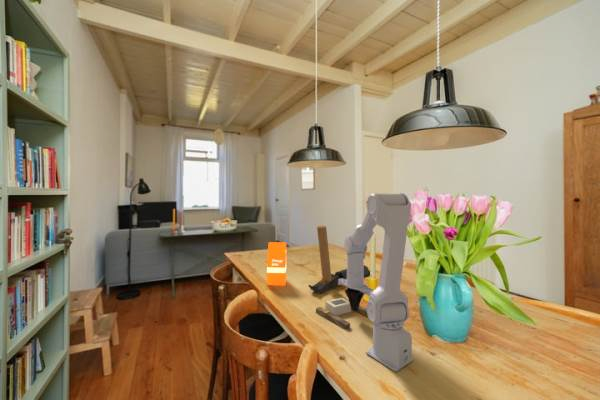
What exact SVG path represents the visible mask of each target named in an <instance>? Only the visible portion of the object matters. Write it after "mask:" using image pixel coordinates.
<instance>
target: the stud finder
mask: <svg viewBox="0 0 600 400" xmlns="http://www.w3.org/2000/svg"><path fill="white" fill-rule="evenodd" d="M347 300H348V299H345V298H344V297H339V298H335V299H331V300H325V307H324V309H326V310H328V311H330V313H332V314H334V315H336V316H339V315H343V314H348V313H351V312H352V310H351V306H350V302H349V301H347Z"/></svg>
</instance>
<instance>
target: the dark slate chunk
mask: <svg viewBox="0 0 600 400" xmlns="http://www.w3.org/2000/svg"><path fill="white" fill-rule="evenodd" d="M370 271H371V270H370V269H369V267H368V266H366V265H365V264H364V278H363V279H365V278H368V277H370V276H371V275H370ZM336 272H337V271H335V273H336ZM338 272H340V273H341V274H342V275H343V279H347V268H346V269H341V270H339V271H338ZM335 273H334V274H335ZM369 275H370V276H369Z"/></svg>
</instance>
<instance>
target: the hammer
mask: <svg viewBox="0 0 600 400" xmlns="http://www.w3.org/2000/svg"><path fill="white" fill-rule="evenodd" d="M316 231H317V240H318V249H319V258H320V266H321V267H320V268H321V277H322V279H321V280H320V281H318V282H317V283H315V284H313V285H310V284H308V285H307V286H308V287H309V289H310V290H311V291H313V292H316V293H319V294H325V293H327V292H329V291H330V290H333V289H335V288H336V287H338V286H340V285H339V284H338V279H341V278H343V275H342V274H341V273H340V272H339V271H335V272H336V273H331V271H332V270H331V261H330V252H329V243H328V240H329V239H328V232H327V226H326V225H318V226H316ZM343 279H344V278H343Z"/></svg>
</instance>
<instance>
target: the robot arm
mask: <svg viewBox="0 0 600 400" xmlns="http://www.w3.org/2000/svg"><path fill="white" fill-rule="evenodd" d="M411 209H412V203H411V201H410V199H409V197H408V196H407V194H405V193H376V192H371V194H369V196H368V198H367V201H366V210H367V211H366V214H365V216H364V218H363V221H362V223H358V224H357V225H356V227H355V229H354V230H353V233H352V234H351V235H349V236H346V237H345V239H344V241H343V243H344V251H345V254H346V269H347V279H344V278H341V279H338V284H339V285H338V286H341V285H342V286H344V287H346V289H345V290H344V293H345V295H346V296H347V298H348V299H347V300H349V302H350V306H351V312H354V313H355V312H357V310H358V308H359V306H360V304H361V301H362V299H363V297H364V295H366V296H367V297H369V298H368V301H367V303H366V305H365V306H366V309H367V315H368V319H369V321H370V322H371V323H372V326H373V327H372V347H371V348H369V349H367V350H365V353H366V354H367V355H369V356H370V357H372V358H373V359H375V360H376V361H377V362H379V363H381V364H382V365H384V366H386V367H388V368H389V369H391V370H392V371H393V372H398V371H399V370H401V369H403V368H404V367H405V366H406V365H409V364H410V363H412V362H413V361H414V358H413V357H412V355H413V354H412V349H413V348H412V347H413V346H412V345H413V344H412V343H413V341H412V339H413V336H412V334H411V333H410V331H408V330H406V329H405V328H404V326H405V322H406V321H407V320H408V319H409V315H410V309H409V298H408V296H407V295H406V293H404V292H403V290H401V283H402V282H401V281H402V274H403V266H404V257H405V252H406V244H407V243H406V241H407V233H408V226H409V225H410V217H411ZM376 226H379V227H381V228H383V230H384V235H383V244H382V255H381V264H380V273H379V282H378V283H379V284H378V286H377V287H375V288H376V289H374V290H373V289H371V288H369V287H368V286H369V285H366V284H365V282H364V279H365V278H364V265H365V264H364V262H365V261H364V260H365V259H366V254H367V252H368V243H369V242H370V240H371V239H372V237H373V236H374V229H375V227H376Z"/></svg>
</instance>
